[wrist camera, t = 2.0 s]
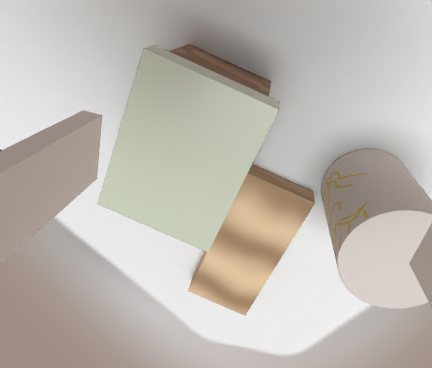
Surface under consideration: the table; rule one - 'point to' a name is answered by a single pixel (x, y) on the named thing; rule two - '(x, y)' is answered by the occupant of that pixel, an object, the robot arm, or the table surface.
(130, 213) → the lid
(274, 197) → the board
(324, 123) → the table surface
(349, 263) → the cup
